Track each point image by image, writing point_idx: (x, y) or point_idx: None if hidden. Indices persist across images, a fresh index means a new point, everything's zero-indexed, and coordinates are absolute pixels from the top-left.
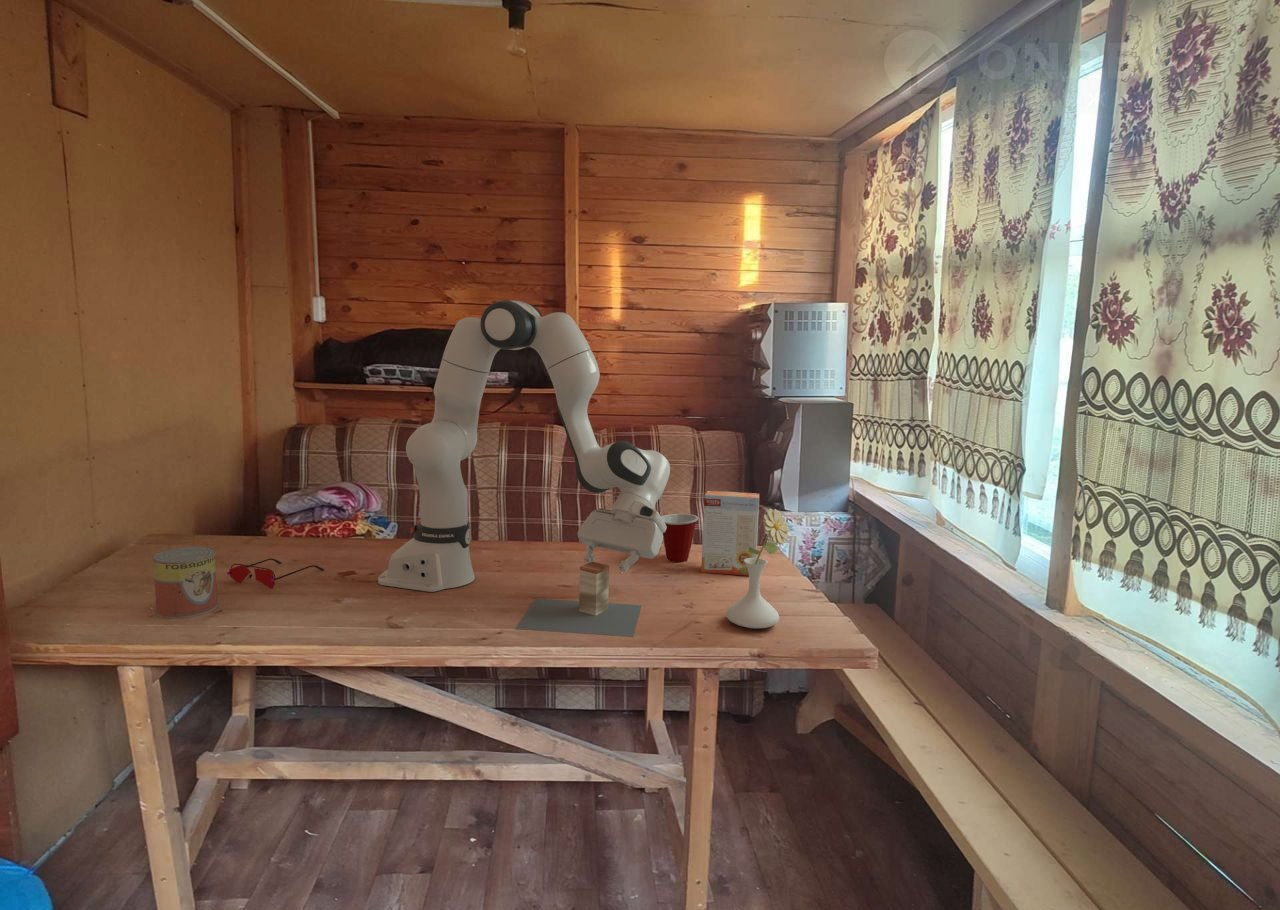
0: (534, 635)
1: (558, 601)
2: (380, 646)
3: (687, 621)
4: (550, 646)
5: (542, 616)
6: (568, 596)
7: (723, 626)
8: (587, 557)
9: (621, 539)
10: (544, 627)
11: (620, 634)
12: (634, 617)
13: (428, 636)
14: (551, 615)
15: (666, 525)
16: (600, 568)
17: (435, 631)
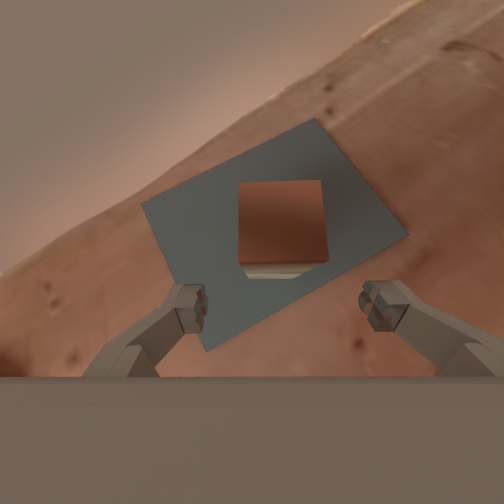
0: (282, 133)
1: (360, 250)
2: (402, 11)
3: (93, 348)
4: (237, 122)
5: (321, 175)
6: None
7: (18, 372)
8: (386, 285)
9: (210, 456)
10: (282, 146)
11: (163, 198)
12: (181, 277)
13: (390, 53)
14: None
15: None
16: (243, 210)
17: (399, 66)
